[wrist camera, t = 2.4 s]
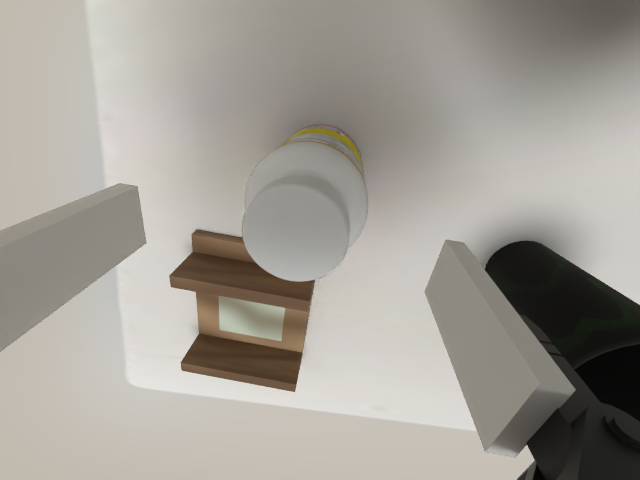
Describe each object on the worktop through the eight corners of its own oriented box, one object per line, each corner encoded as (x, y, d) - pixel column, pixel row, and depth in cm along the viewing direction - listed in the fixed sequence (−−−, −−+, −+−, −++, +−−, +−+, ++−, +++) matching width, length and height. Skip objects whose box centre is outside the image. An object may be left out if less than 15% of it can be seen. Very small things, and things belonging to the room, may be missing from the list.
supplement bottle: (313, 218, 26) (282, 319, 14) (265, 157, 24) (185, 219, 12) (378, 176, 23) (402, 258, 12) (331, 104, 21) (307, 121, 10)
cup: (493, 312, 28) (576, 444, 18) (458, 258, 26) (529, 373, 16) (578, 277, 26) (736, 407, 15) (547, 213, 23) (708, 314, 13)
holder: (196, 229, 27) (167, 256, 23) (319, 251, 27) (313, 283, 23) (204, 345, 35) (183, 382, 31) (300, 363, 35) (293, 402, 30)
